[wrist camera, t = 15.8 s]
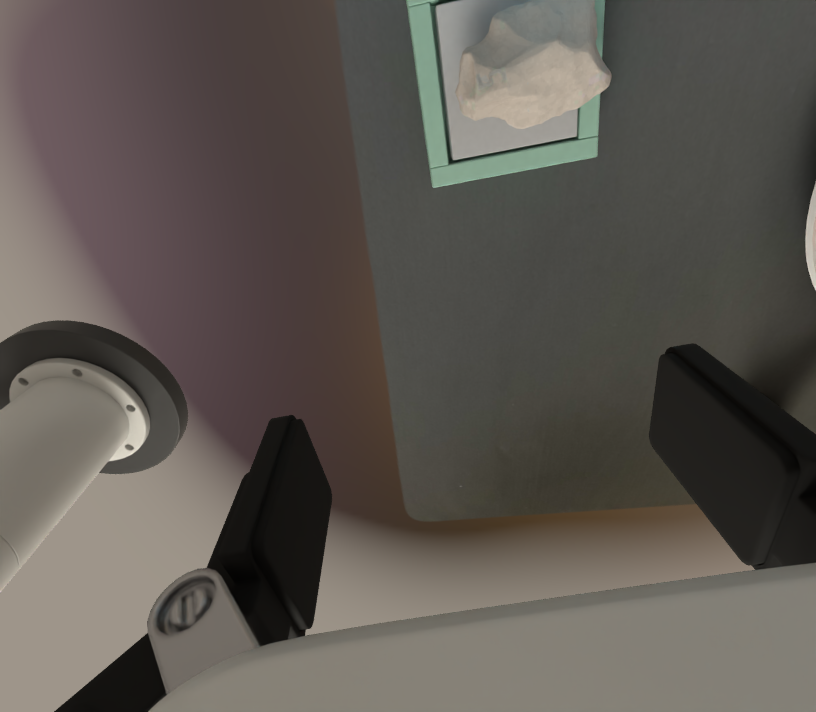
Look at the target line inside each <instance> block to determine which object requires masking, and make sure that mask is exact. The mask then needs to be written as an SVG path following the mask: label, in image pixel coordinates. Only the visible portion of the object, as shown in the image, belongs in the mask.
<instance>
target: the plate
mask: <svg viewBox="0 0 816 712" xmlns="http://www.w3.org/2000/svg"><path fill="white" fill-rule="evenodd" d="M805 243H806V259H807V265H808V271H809V274H810V277H811V280H812V283H813V286H814V288H815V290H816V183H815V187H814V190H813V194H812V197H811V201H810V206H809V212H808V217H807V225H806V237H805Z"/></svg>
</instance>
